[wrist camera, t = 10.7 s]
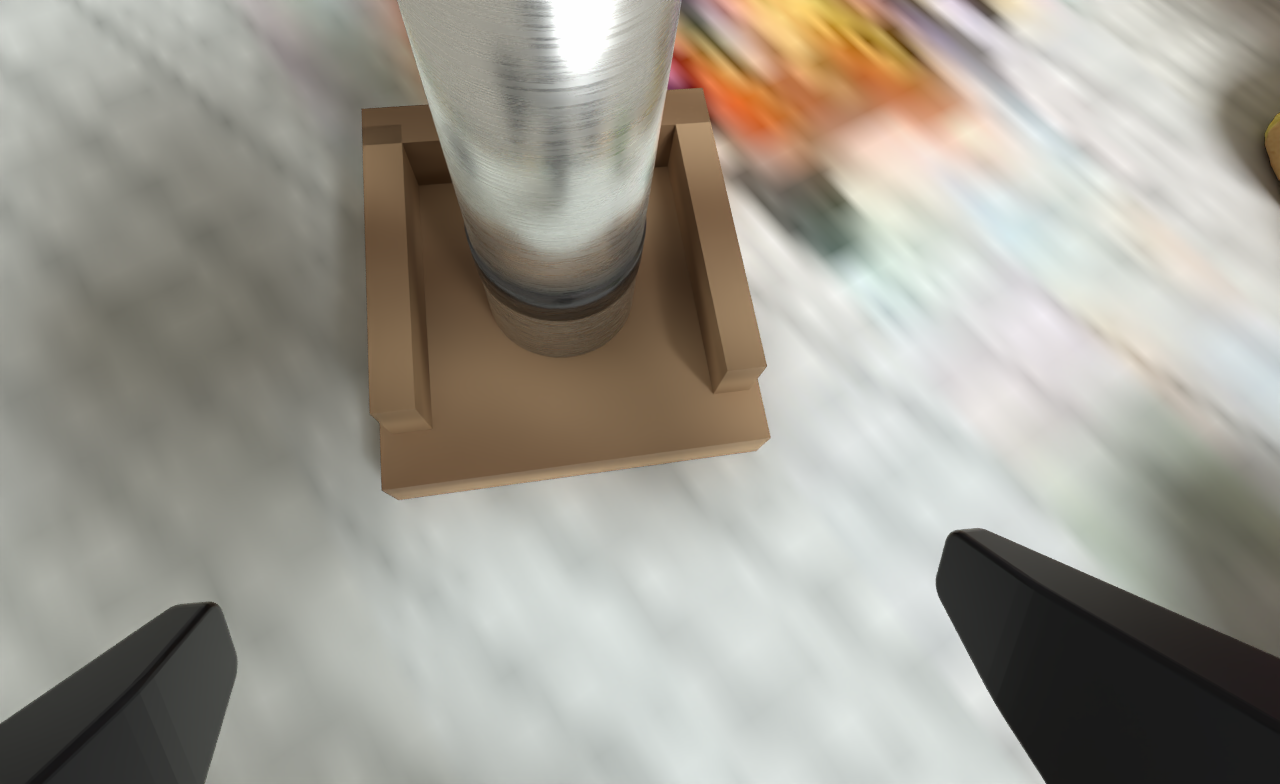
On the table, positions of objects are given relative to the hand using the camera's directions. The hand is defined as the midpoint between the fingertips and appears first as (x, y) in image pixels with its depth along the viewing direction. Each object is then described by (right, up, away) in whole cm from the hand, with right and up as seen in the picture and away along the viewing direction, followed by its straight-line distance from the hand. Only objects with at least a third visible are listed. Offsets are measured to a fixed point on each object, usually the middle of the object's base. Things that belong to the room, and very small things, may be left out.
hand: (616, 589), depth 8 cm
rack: (-2, +5, +11) cm, 13 cm away
